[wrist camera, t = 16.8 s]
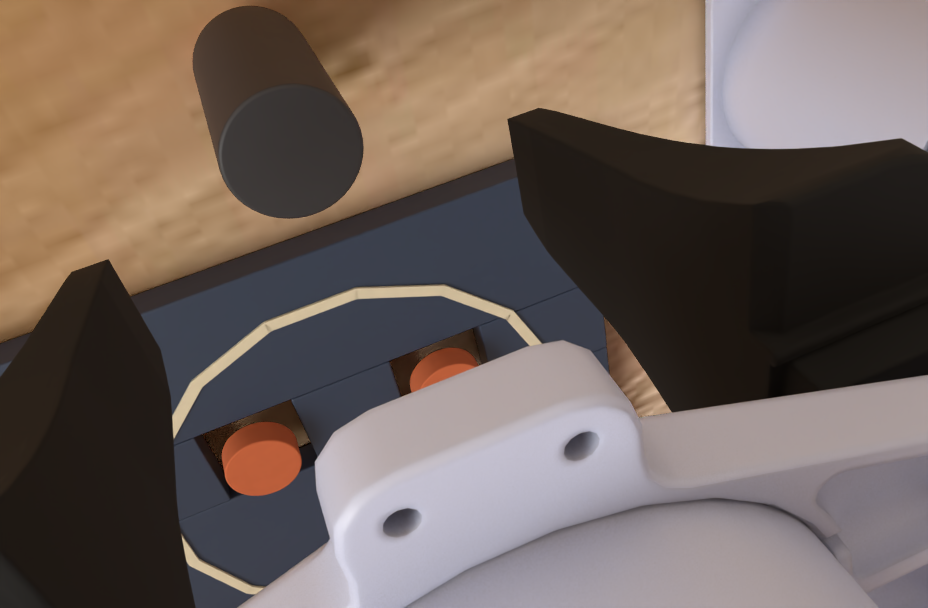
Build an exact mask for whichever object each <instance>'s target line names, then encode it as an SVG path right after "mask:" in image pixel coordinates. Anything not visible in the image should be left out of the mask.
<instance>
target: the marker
mask: <svg viewBox="0 0 928 608" xmlns="http://www.w3.org/2000/svg"><path fill="white" fill-rule="evenodd" d="M193 71H194V76H195V80H196V83H197V87H198V91H199V95H200V98H201V102H202V106H203V109H204V113H205V117H206V121H207V124H208V128H209V132H210V135H211V139H212V143H213V147H214V150H215V154H216V158H217V161H218V165H219V169H220V172H221V175H222V178H223V180H224V181H225V183H226V185H227V187H228V188H229V190H230V191H231V192H232V194H233V195H234V196H235V197H236V198H237V199H238V200H239V201H241V202H242V203H243V204H244V205H246V206H247V207H249V208H251V209H252V210H254V211H257V212H259V213H261V214H264V215H267V216H271V217H276V218H287V219H290V218H301V217H306V216H310V215H313V214H316V213H318V212H321V211H323V210H325V209H327V208H328V207H330V206H332V205H333V204H334V203H336V202H337V201H338V200H339V199H340V198H342V197H343V196H344V195H345V193H346V192H347V191H348V190H349V189H350V187H351V186H352V184H353V183H354V181H355V179H356V177H357V175H358V173H359V170H360V167H361V164H362V158H363V138H362V133H361V129H360V127H359V124H358V122H357V120H356V118H355V116H354V114H353V113H352V111H351V110H350V108H349V107H348V105H347V103H346V102H345V100H344V99H343V97H342V96H341V94H340V93H339V91H338V89H337V88H336V86H335V85H334V83H333V82H332V80H331V79H330V77H329V75H328V74H327V72H326V71H325V69H324V68H323V66H322V65H321V63H320V61H319V60H318V58H317V57H316V55H315V54H314V52H313V51H312V49H311V47H310V46H309V44H308V43H307V41H306V40H305V38H304V37H303V35H302V33H301V32H300V31H299V29H298V28H297V27H296V26H295V25H294V24H293V23H292V22H291V21H290V20H289V19H287V18H286V17H285V16H283V15H281V14H280V13H278V12H276V11H273V10H271V9H267V8H264V7H258V6H242V7H237V8H233V9H230V10H227V11H225V12H223V13H221V14H219V15H218V16H216V17H215V18H214V19H212V20H211V21H210V22H209V23H208V24H207V25H206V26H205V28H204V29H203V30H202V32H201V33H200V35H199V37H198V39H197V42H196V44H195V48H194V52H193Z"/></svg>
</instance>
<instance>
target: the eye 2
mask: <svg viewBox="0 0 928 608" xmlns="http://www.w3.org/2000/svg"><path fill="white" fill-rule="evenodd" d="M477 366H479V365H478V364H477V362H476V360H475V358H474V357H473V356H472V355H471V354H470V353H469V352H467V351H465V350H463V349H460V348H444V349H440V350H437V351H435V352H432V353H431V354H429V355H427V356H426V357H424V358H423V359H422V360H421V361H420V362H419V363H418V364H417V366H416V367H415V368H414V370H413V372H412V375H411V378H410V388H411V391H412V392H415V391H417V390H420V389H422V388H425V387H427V386H430V385H432V384H435V383H437V382H440V381H442V380H445V379H447V378H450V377H452V376H455V375H457V374H460V373H462V372H465V371H467V370H470V369H472V368H475V367H477Z"/></svg>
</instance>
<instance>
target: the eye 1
mask: <svg viewBox="0 0 928 608" xmlns="http://www.w3.org/2000/svg"><path fill="white" fill-rule="evenodd" d="M222 461H223V467H224V473H225V478H226V481H227V483H228V484H229V486H230V487H231V488H232V489H234V490H235V491H237V492H239V493H241V494H245V495H250V496H261V495H267V494H271V493H274V492H277V491H279V490H281V489H283V488H284V487H286V486H287V485H289V484H290V483H291V482H292V481H293V480H294V479H295V478H296V476H297V475H298V473H299V471H300V468H301V464H302V459H301V454H300V451H299V447H298V443H297V440H296V437H295V435H294V433H293V432H292V431H291V430H290V429H289V428H287V427H286V426H284V425H282V424H279V423H275V422H258V423H253V424H250V425H247V426H245V427H243V428H241V429H239V430H237V431H236V432H235V433H233V434H232V435H231V436H230V437H229V438H228V440H227V441H226V443H225V445H224V447H223V450H222Z"/></svg>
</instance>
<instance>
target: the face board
mask: <svg viewBox="0 0 928 608" xmlns="http://www.w3.org/2000/svg"><path fill="white" fill-rule="evenodd" d="M131 299H132V301H133V303H134V304H135V306H136V308H137V310H138V311H139V313H140V315H141V316H142V318H143V320H144V322H145V323H146V325H147V327H148V329H149V330H150V332H151V334H152V335H153V337H154V339H155V341H156V342H157V344H158V346H159V347H160V349H161V353H162V358H163V362H164V366H165V371H166V375H167V380H168V385H169V390H170V395H171V405H172V420H173V437H174V456H175V475H176V494H177V507H178V516H179V524H180V530H181V535H182V540H183V546H184V551H185V557H186V562H187V568H188V573H189V578H190V582H191V587H192V592H193V597H194V602H195V607H196V608H237V607H239V606H240V605H242V604H243V603H244V602H246V601H247V600H248V599H250V598H251V597H253V596H254V595H255V594H257V593H258V592H259V591H261V590H262V589H264V588H265V587H266V586H268V585H269V584H270V583H272V582H273V581H275V580H276V579H277V578H279V577H280V576H281V575H283V574H284V573H286V572H287V571H288V570H290V569H291V568H292V567H294V566H295V565H297V564H298V563H299V562H301V561H302V560H303V559H305V558H306V557H308V556H309V555H310V554H312V553H313V552H314V551H316V550H317V549H319V548H320V547H321V546H323V545H324V544H325V543H327V542H328V541H329V539H330V536H329V533H328V529H327V526H326V522H325V519H324V515H323V512H322V508H321V505H320V501H319V498H318V494H317V490H316V475H315V461H316V459H317V458H318V456H319V455H320V453H321V451H322V450H323V448H324V447H325V445H326V444H327V442H328V440H329V439H330V437H331V436H332V434H333V433H334V432H335V431H336V430H338V429H340V428H341V427H343V426H344V425H346V424H347V423H349V422H351V421H352V420H354V419H355V418H357V417H358V416H360V415H361V414H363V413H365V412H366V411H368V410H370V409H372V408H375V407H377V406H380V405H382V404H385V403H387V402H390V401H392V400H395V399H397V398H400V397H401V394H400V391H399V388H398V385H397V382H396V379H395V376H394V373H393V370H392V368H391V365H390V362H389V361H390V360H393V359H395V358H398V357H400V356H403V355H405V354H408V353H410V352H413V351H416V350H418V349H421V348H423V347H426V346H428V345H431V344H433V343H436V342H438V341H441V340H444V339H446V338H449V337H451V336H454V335H456V334H459V333H461V332H464V331H467V330H469V329H472V328H473V331H474V335H475V339H476V343H477V347H478V351H479V355H480V360H481V364H485V363H487V362H490V361H492V360H495V359H497V358H500V357H502V356H505V355H507V354H510V353H512V352H515V351H517V350H520V349H522V348H525V347H527V346H533V345H539V344H544V343H550V342H555V341H561V340H564V341H566V342H569V343H572V344H575V345H577V346H580V347H583V348H586V349H589V350H590V351H591V352H592V353H593V354H594V356H595V357H596V358H597V360H598V361H599V362H600V363H601V365H602V366H603V367H604V369H605V370H606V371H607V372H608V374H609V365H608V355H607V347H606V346H607V343H606V334H605V325H604V316H603V315H602V314H601V312H600V311H599V310H598V309H597V308H596V307H595V306H594V305H593V303H592V302H591V301H590V300H589V299H588V298H587V297H586V296H585V294H584V293H583V292H582V291H581V290H580V289H579V288H578V287H577V285H576V284H575V283H574V282H573V281H572V280H571V279H570V277H569V276H568V275H567V274H566V273H565V272H564V271H563V269H562V268H561V267H560V266H559V265H558V264H557V263H556V261H555V260H554V259H553V258H552V257H551V255H550V254H549V253H548V252H547V250H546V249H545V247H544V246H543V244H542V243H541V241H540V240H539V238H538V237H537V235H536V233H535V232H534V230H533V229H532V227H531V225H530V224H529V222H528V220H527V219H526V217H525V215H524V213H523V207H522V201H521V195H520V189H519V183H518V178H517V172H516V166H515V160H514V159H512V160H509V161H506V162H503V163H501V164H498V165H495V166H492V167H490V168H487V169H484V170H481V171H478V172H476V173H473V174H470V175H467V176H465V177H462V178H459V179H456V180H453V181H451V182H448V183H445V184H442V185H440V186H437V187H434V188H431V189H428V190H426V191H423V192H420V193H417V194H415V195H412V196H409V197H406V198H403V199H401V200H398V201H395V202H392V203H390V204H387V205H384V206H381V207H378V208H376V209H373V210H370V211H367V212H365V213H362V214H359V215H356V216H353V217H351V218H348V219H345V220H342V221H340V222H337V223H334V224H331V225H328V226H326V227H323V228H320V229H317V230H315V231H312V232H309V233H306V234H303V235H301V236H298V237H295V238H292V239H290V240H287V241H284V242H281V243H278V244H276V245H273V246H270V247H267V248H265V249H262V250H259V251H256V252H253V253H251V254H248V255H245V256H242V257H240V258H237V259H234V260H231V261H228V262H226V263H223V264H220V265H217V266H215V267H212V268H209V269H206V270H204V271H201V272H198V273H195V274H192V275H190V276H187V277H184V278H181V279H179V280H176V281H173V282H170V283H167V284H165V285H162V286H159V287H156V288H154V289H151V290H148V291H145V292H142V293H140V294H137V295H134V296H131ZM31 333H32V332H31ZM31 333H29V334H26V335H23V336H20V337H17V338H15V339H12V340H9V341H6V342H4V343H1V344H0V377H1V375H2V374H3V373H4V371H5V370H6V369H7V367H8V366H9V364H10V363H11V362H12V360H13V359H14V358H15V356H16V355H17V354H18V352H19V351H20V349H21V348H22V347H23V345H24V344H25V342H26V341H27V339H28V338H29V336H30V335H31ZM609 375H610V374H609ZM288 400H291V401H292V403H293V405H294V407H295V409H296V411H297V414H298V416H299V418H300V420H301V422H302V424H303V427H304V429H305V431H306V433H307V435H308V437H309V439H310V442H311V444H309V445H306V446H304V447H301V448H299V451H300V454H301V459H302V464H301V468H300V471H299V473H298V475H297V476H296V478H295V479H294V480H293V481H292V482H291V483H290V484H289V485H287V486H286V487H284V488H283V489H281V490H279V491H277V492H274V493H271V494H267V495H261V496H250V495H245V494H241V493H239V492H237V491H235V490H234V489H232V488H231V487H230V486H229V484H228V483H227V481H226V478H225V473H224V471H223V469H222V467H221V466H220V464H219V462H218V461H217V459H216V457H215V456H214V454H213V452H212V450H211V449H210V447H209V445H208V444H207V442H206V440H205V439H204V437H203V435H202V434H204V433H206V432H209V431H212V430H214V429H217V428H219V427H222V426H224V425H227V424H229V423H232V422H234V421H237V420H240V419H242V418H245V417H247V416H250V415H252V414H255V413H257V412H260V411H263V410H265V409H268V408H270V407H273V406H275V405H278V404H280V403H283V402H285V401H288Z"/></svg>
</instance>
